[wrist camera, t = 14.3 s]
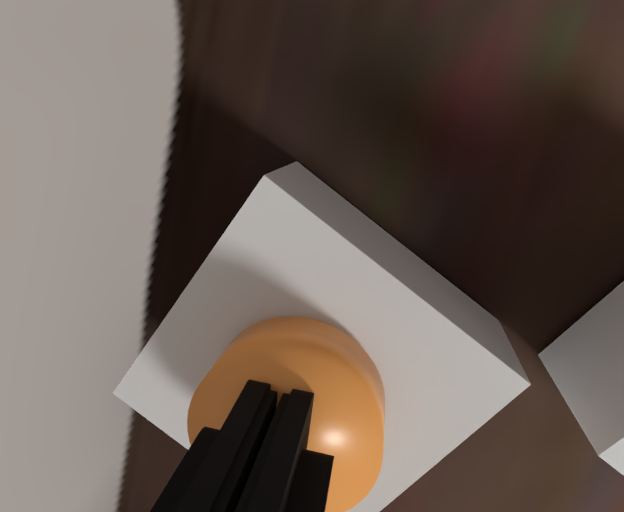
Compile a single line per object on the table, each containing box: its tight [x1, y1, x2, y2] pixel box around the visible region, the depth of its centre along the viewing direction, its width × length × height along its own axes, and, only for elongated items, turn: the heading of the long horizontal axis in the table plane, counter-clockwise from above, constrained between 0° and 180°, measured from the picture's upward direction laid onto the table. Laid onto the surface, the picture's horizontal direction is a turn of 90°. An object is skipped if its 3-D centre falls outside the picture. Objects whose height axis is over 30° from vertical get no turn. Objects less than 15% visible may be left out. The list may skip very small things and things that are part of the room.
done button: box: [187, 317, 385, 512], centre depth 12 cm, size 5×5×2 cm
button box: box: [113, 161, 531, 512], centre depth 15 cm, size 9×9×4 cm
